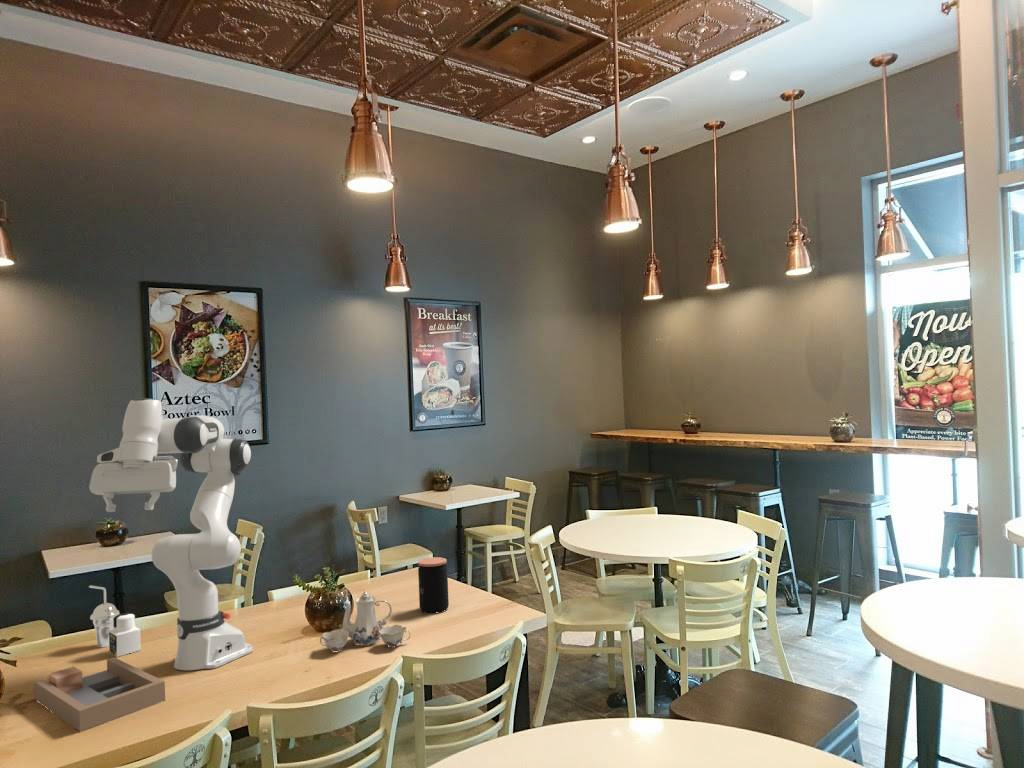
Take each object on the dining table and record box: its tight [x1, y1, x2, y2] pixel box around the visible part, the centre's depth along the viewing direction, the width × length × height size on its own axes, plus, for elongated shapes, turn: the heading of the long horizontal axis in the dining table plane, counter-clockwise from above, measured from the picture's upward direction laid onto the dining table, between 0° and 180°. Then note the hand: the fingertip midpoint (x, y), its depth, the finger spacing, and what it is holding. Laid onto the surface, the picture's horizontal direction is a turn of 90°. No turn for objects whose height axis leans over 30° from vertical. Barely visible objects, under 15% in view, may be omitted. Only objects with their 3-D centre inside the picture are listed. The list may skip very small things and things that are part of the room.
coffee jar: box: [417, 556, 450, 614], centre depth 244 cm, size 11×11×18 cm
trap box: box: [33, 656, 166, 733], centre depth 178 cm, size 20×32×5 cm, turn 52°
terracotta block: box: [48, 666, 83, 693], centre depth 181 cm, size 6×6×4 cm
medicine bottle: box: [108, 612, 142, 658], centre depth 214 cm, size 7×7×12 cm
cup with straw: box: [88, 584, 121, 648], centre depth 222 cm, size 8×9×20 cm
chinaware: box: [319, 590, 411, 651], centre depth 211 cm, size 28×17×17 cm, turn 102°
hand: (129, 510), depth 166 cm, fingers open, 8 cm apart
